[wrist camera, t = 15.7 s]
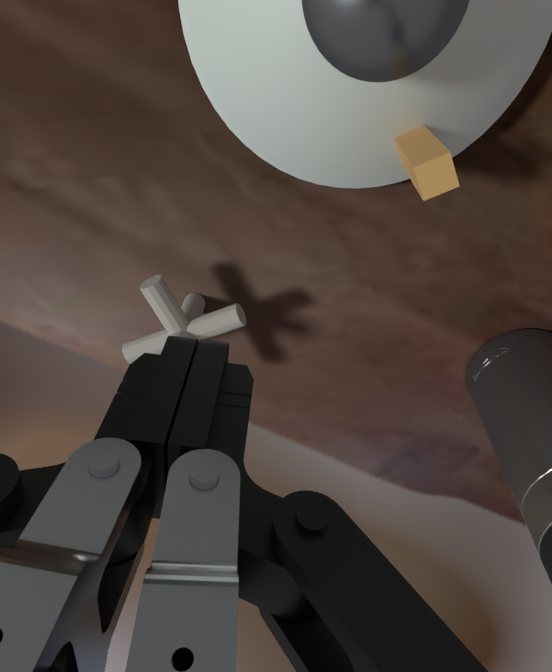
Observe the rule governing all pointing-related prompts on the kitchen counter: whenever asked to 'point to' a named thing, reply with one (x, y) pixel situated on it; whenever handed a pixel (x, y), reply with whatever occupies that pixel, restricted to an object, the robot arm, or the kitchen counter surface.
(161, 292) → the pipe connector
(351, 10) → the cover
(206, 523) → the robot arm
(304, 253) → the kitchen counter surface
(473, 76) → the platter
